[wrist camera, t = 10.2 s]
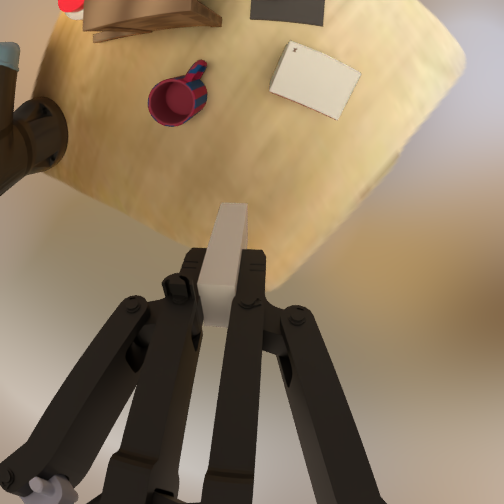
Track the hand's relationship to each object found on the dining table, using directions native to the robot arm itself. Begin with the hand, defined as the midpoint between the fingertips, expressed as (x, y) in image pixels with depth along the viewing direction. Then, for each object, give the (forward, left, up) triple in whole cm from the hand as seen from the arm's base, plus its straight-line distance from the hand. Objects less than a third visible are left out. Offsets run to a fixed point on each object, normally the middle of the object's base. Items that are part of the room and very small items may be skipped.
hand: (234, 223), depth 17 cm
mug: (-10, +5, -29) cm, 32 cm away
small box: (+6, +8, -29) cm, 31 cm away
